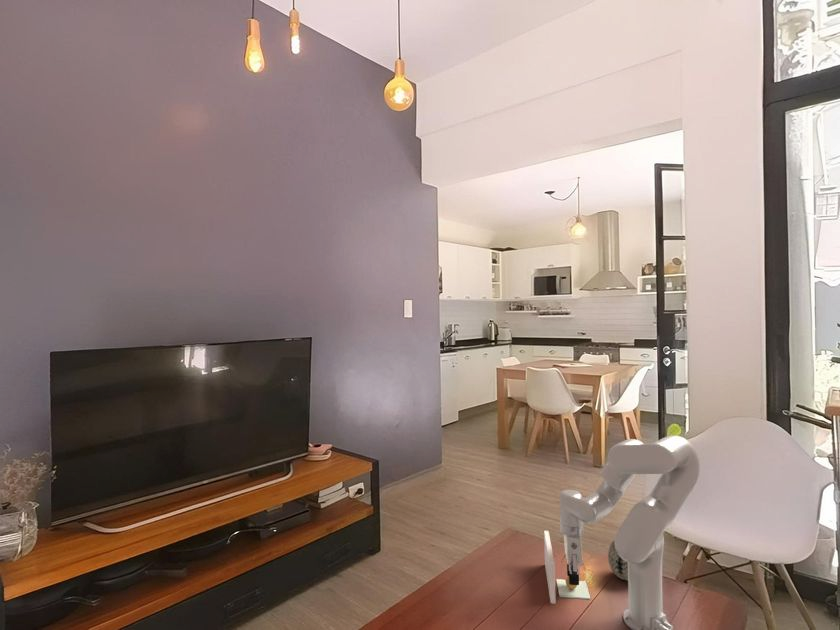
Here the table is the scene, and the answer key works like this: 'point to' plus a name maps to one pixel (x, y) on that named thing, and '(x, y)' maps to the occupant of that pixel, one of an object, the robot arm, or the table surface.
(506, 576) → the table surface
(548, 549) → the screen
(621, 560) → the decorative egg
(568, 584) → the figurine
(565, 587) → the mat
